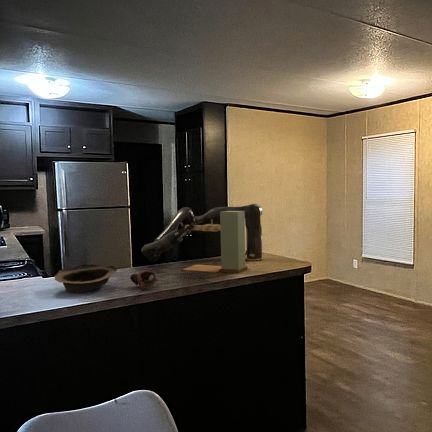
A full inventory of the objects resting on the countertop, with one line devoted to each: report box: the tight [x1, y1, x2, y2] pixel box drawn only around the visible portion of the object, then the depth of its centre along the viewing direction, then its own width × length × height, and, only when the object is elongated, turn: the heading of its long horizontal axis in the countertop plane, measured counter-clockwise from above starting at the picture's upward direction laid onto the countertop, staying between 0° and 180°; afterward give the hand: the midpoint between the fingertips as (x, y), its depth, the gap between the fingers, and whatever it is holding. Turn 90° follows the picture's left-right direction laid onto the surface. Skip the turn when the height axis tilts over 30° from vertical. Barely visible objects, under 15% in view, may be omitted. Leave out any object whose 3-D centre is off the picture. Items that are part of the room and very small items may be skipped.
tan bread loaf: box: [184, 219, 221, 232], centre depth 235 cm, size 20×6×6 cm, turn 69°
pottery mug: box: [129, 270, 158, 291], centre depth 195 cm, size 12×10×8 cm
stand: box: [218, 211, 249, 274], centre depth 230 cm, size 11×11×31 cm
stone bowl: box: [54, 263, 117, 294], centre depth 193 cm, size 25×25×9 cm
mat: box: [181, 264, 221, 274], centre depth 236 cm, size 20×14×1 cm
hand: (194, 224), depth 236 cm, fingers closed on tan bread loaf, 2 cm apart
